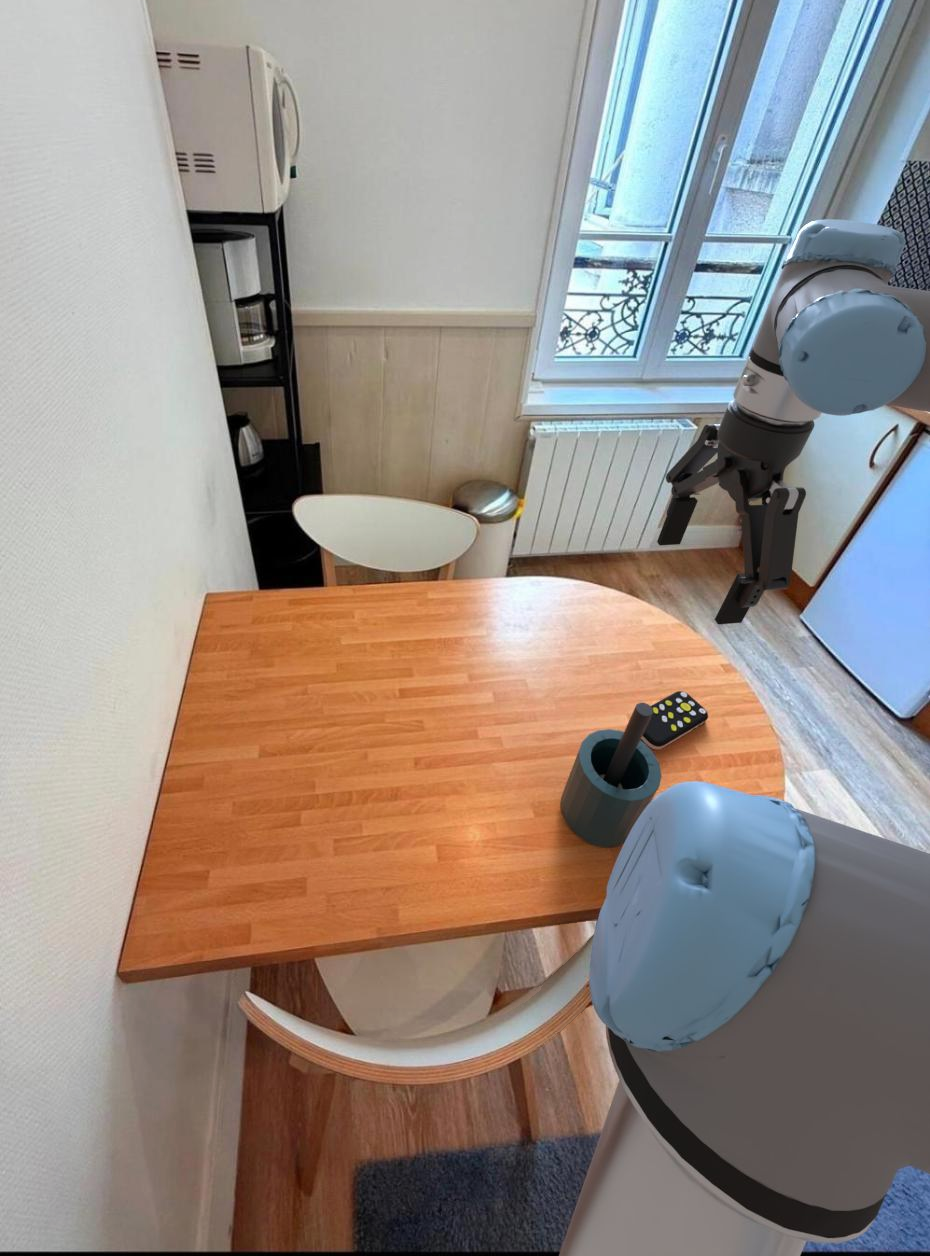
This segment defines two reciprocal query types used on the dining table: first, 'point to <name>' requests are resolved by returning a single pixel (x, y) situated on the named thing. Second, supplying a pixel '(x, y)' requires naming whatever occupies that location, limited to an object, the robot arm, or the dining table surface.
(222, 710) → the dining table surface
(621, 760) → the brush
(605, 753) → the jar
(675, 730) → the remote control
